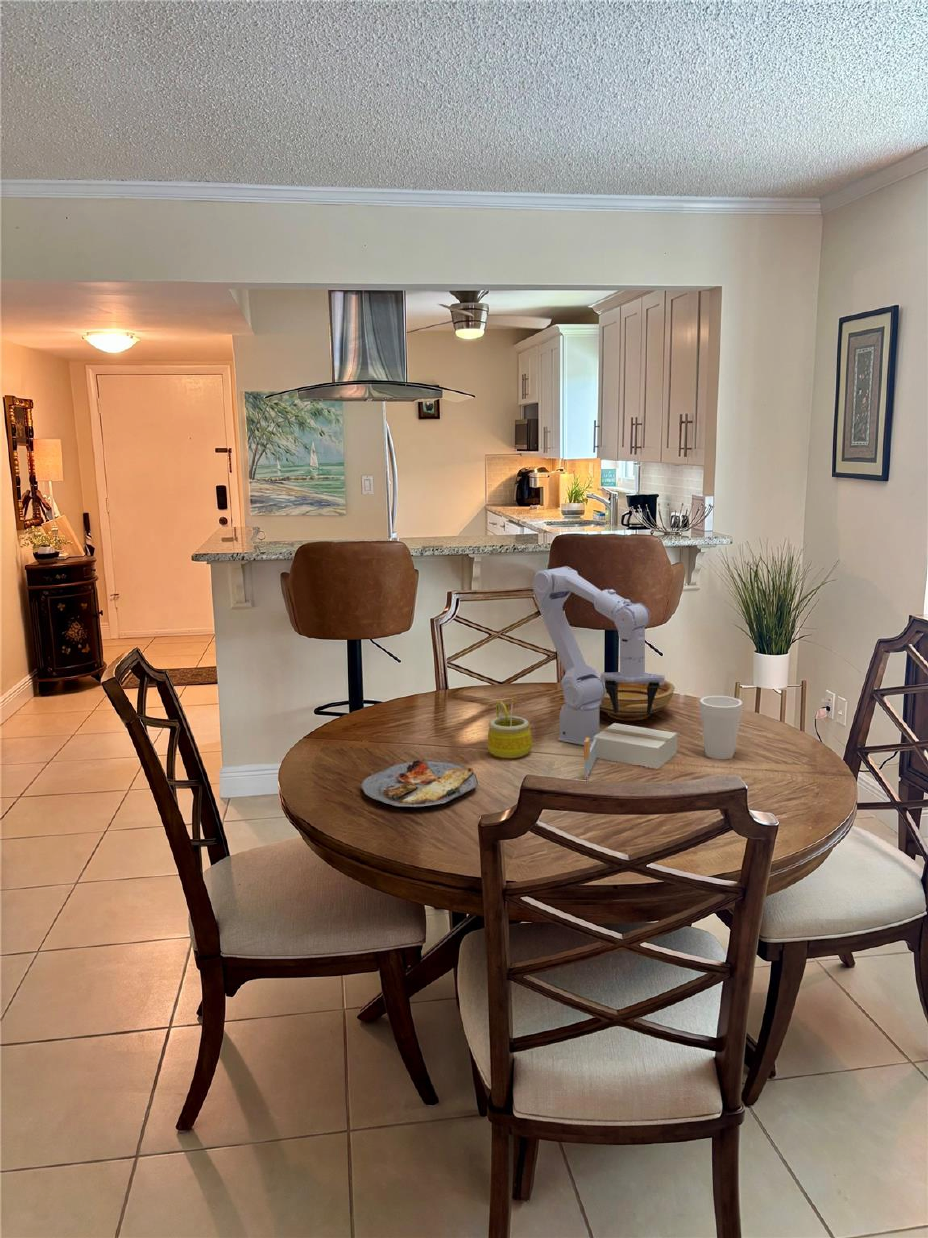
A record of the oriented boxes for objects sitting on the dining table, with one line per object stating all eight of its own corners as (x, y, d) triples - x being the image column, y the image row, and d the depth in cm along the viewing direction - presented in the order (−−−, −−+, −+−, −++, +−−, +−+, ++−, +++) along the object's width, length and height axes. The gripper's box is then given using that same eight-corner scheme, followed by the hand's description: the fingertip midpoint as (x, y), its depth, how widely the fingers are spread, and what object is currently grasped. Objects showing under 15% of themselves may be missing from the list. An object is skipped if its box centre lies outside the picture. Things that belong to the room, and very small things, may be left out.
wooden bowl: (574, 700, 254) (573, 673, 253) (657, 696, 256) (657, 670, 254) (596, 733, 225) (596, 703, 224) (689, 729, 227) (690, 699, 225)
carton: (593, 757, 209) (593, 736, 208) (614, 742, 218) (614, 722, 217) (657, 769, 200) (657, 747, 199) (676, 753, 210) (676, 732, 209)
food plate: (419, 761, 209) (419, 747, 208) (498, 783, 195) (497, 768, 194) (342, 798, 190) (341, 782, 190) (422, 826, 176) (421, 809, 175)
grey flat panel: (594, 757, 207) (594, 722, 206) (597, 757, 207) (597, 722, 206) (584, 779, 194) (584, 741, 193) (587, 779, 194) (587, 742, 192)
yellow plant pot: (529, 762, 207) (529, 713, 205) (483, 760, 209) (482, 711, 207) (536, 743, 219) (535, 697, 217) (492, 742, 221) (491, 695, 219)
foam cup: (740, 749, 211) (741, 697, 209) (741, 763, 202) (743, 708, 200) (698, 746, 214) (700, 695, 211) (698, 760, 205) (699, 706, 202)
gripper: (598, 659, 203) (598, 715, 206) (662, 661, 199) (662, 719, 201) (603, 652, 210) (603, 707, 213) (665, 654, 205) (665, 710, 208)
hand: (632, 712), depth 207 cm, fingers open, 7 cm apart
